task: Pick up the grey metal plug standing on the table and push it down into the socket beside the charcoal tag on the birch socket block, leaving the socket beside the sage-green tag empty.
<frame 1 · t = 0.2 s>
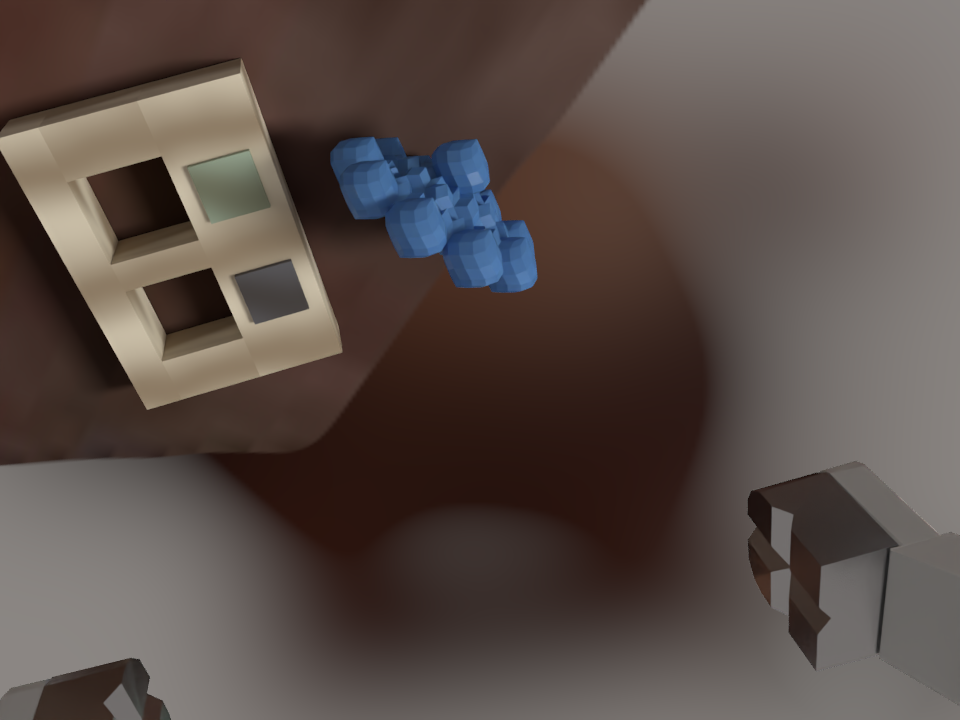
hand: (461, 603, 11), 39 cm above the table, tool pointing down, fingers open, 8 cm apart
socket block: (192, 235, 47), on the table
grapes: (426, 156, 48), on the table
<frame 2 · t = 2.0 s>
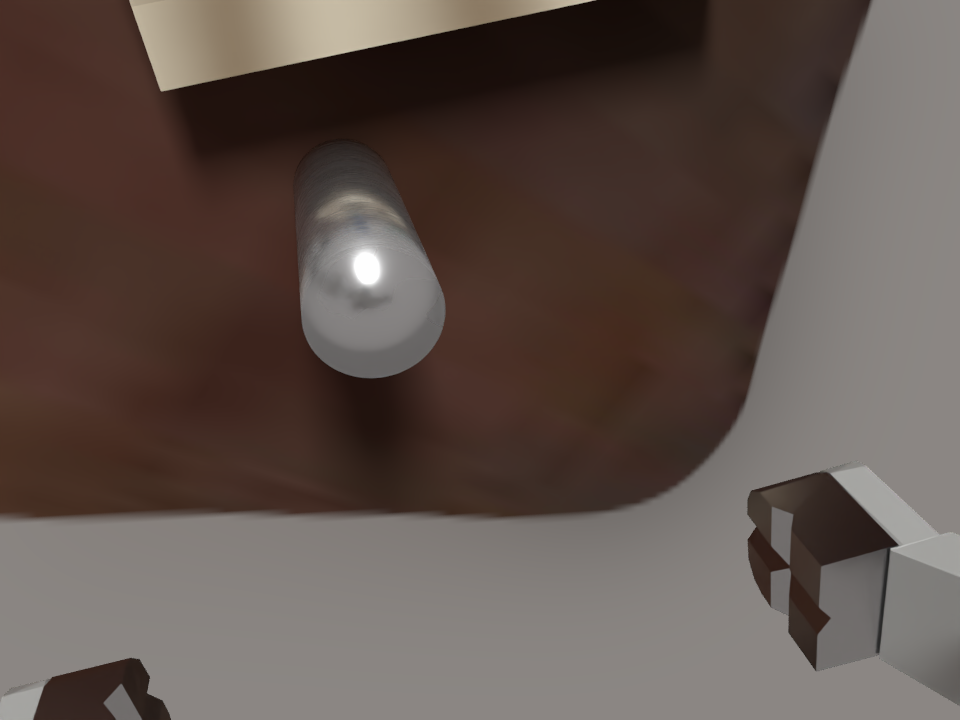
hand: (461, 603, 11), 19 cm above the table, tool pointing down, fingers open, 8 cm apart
plug: (343, 188, 27), on the table
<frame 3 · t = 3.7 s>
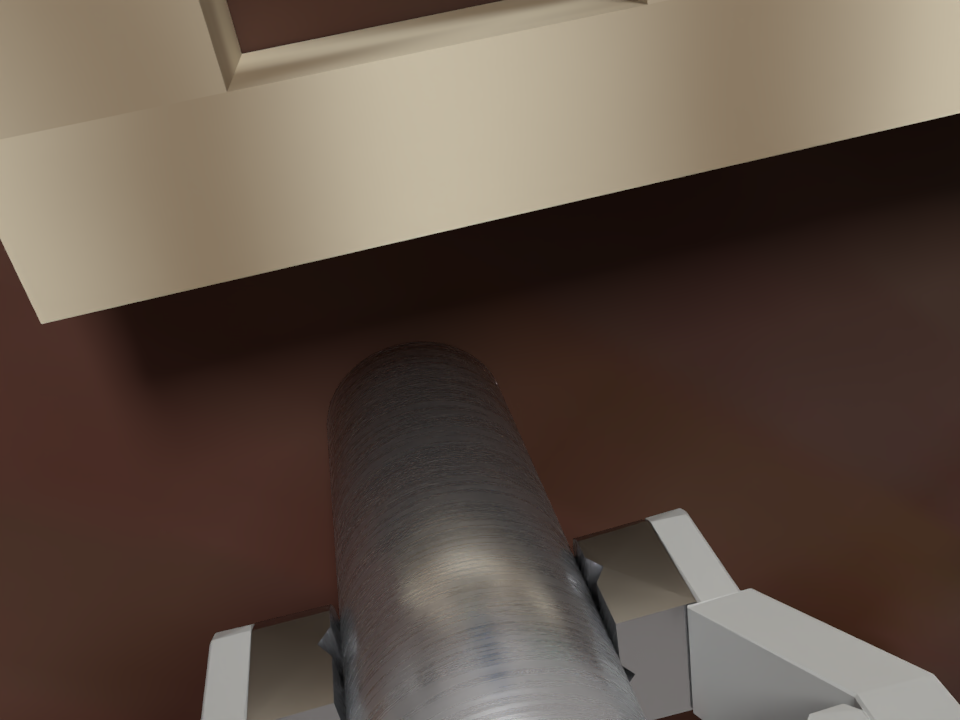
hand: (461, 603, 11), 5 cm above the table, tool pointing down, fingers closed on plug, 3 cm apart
plug: (417, 421, 15), on the table, touching gripper
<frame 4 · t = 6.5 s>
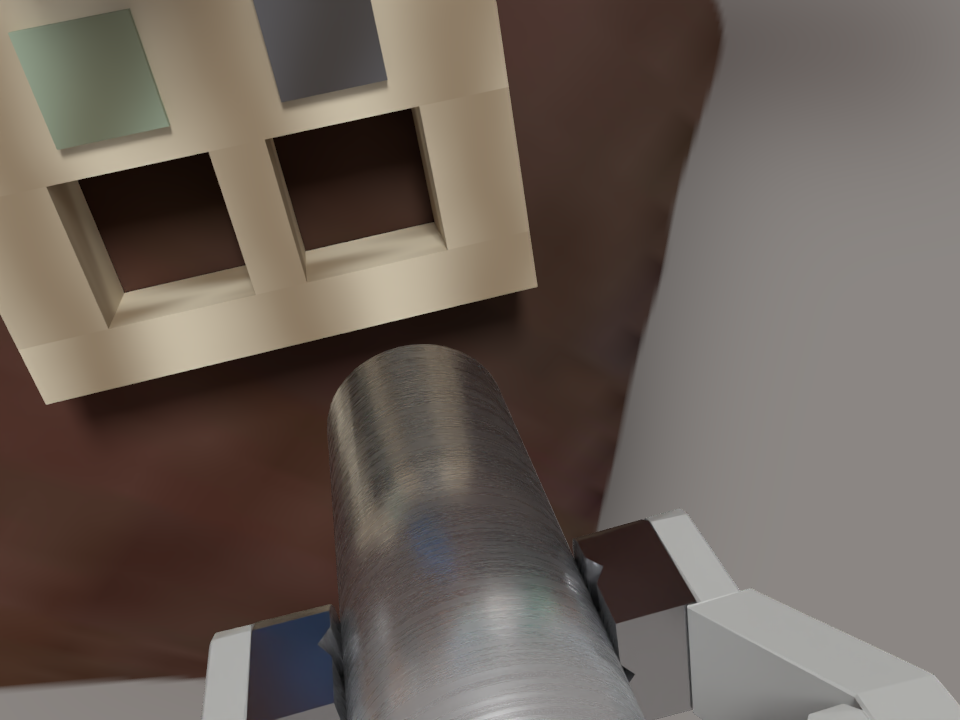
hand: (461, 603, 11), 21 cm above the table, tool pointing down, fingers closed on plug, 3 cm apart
plug: (417, 424, 15), point 16 cm above the table, touching gripper
socket block: (249, 150, 28), on the table
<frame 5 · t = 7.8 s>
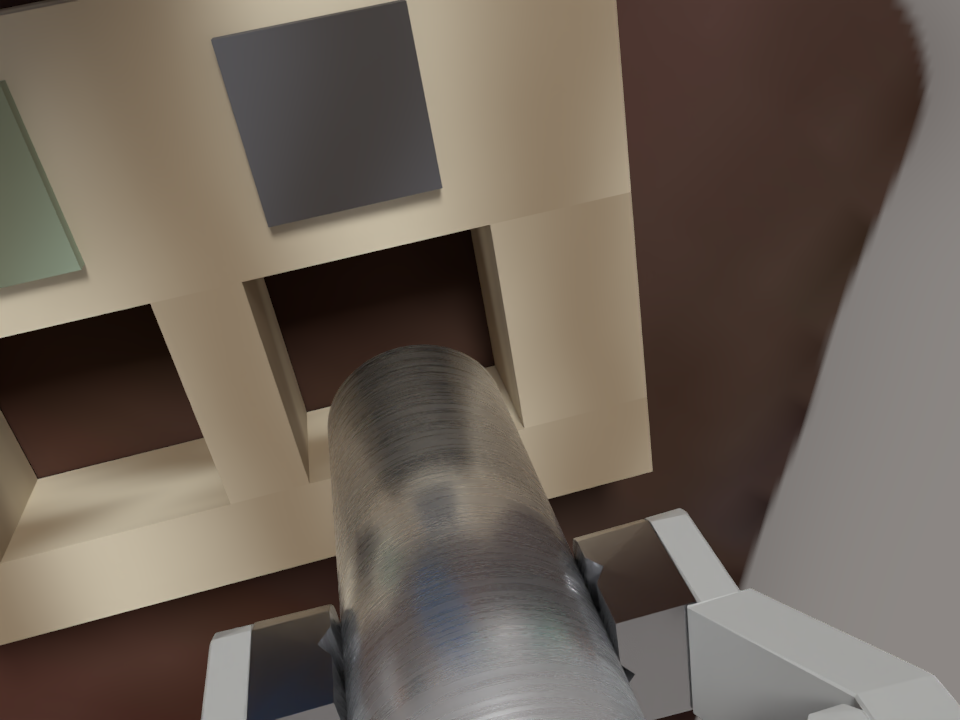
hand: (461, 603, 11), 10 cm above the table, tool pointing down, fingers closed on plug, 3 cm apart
plug: (417, 424, 15), point 5 cm above the table, touching gripper
socket block: (222, 276, 18), on the table
when the fingers open (6 cm above the table, at t = 9.0 s): plug drops 1 cm, resting in socket block.
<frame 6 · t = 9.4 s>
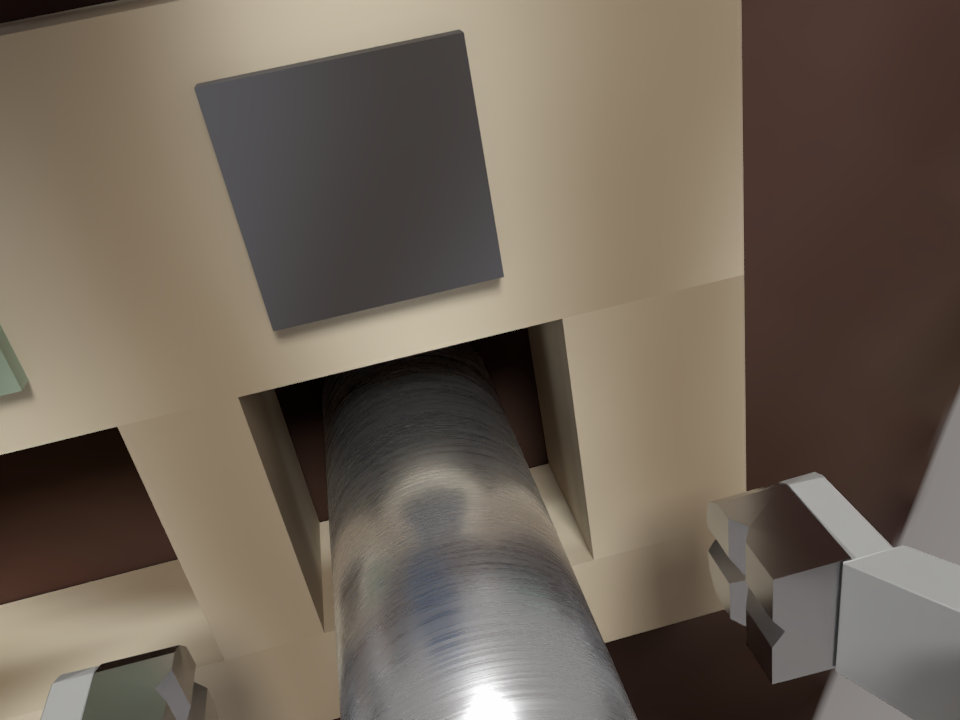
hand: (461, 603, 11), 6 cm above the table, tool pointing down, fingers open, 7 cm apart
plug: (407, 397, 16), resting in socket block
socket block: (215, 367, 15), on the table
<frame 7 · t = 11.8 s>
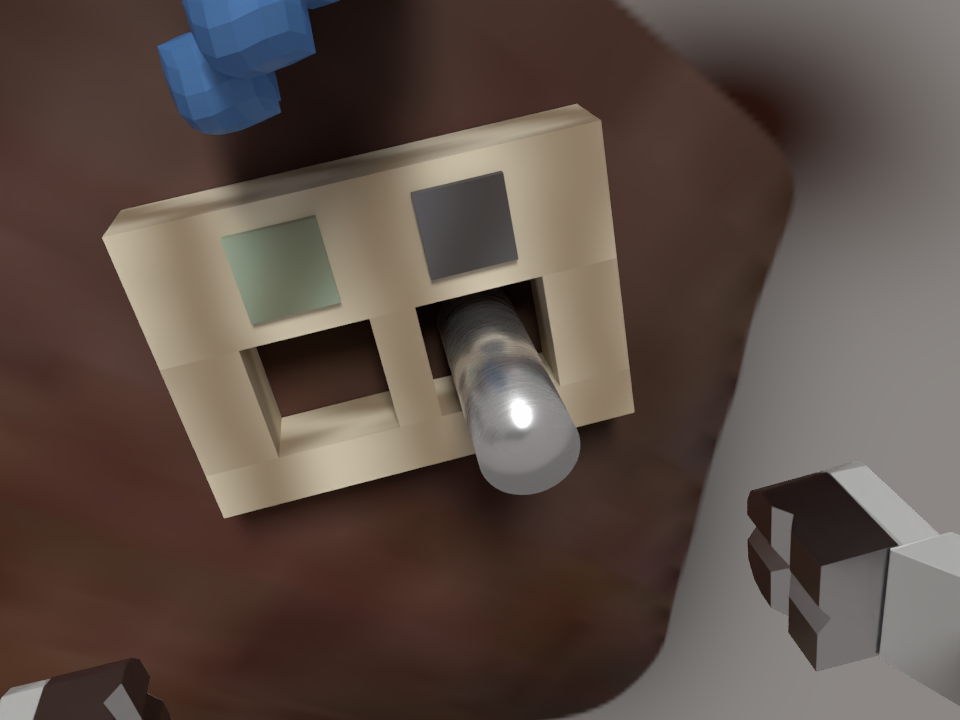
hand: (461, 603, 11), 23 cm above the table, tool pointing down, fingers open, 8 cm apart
plug: (475, 317, 34), resting in socket block
socket block: (391, 302, 33), on the table
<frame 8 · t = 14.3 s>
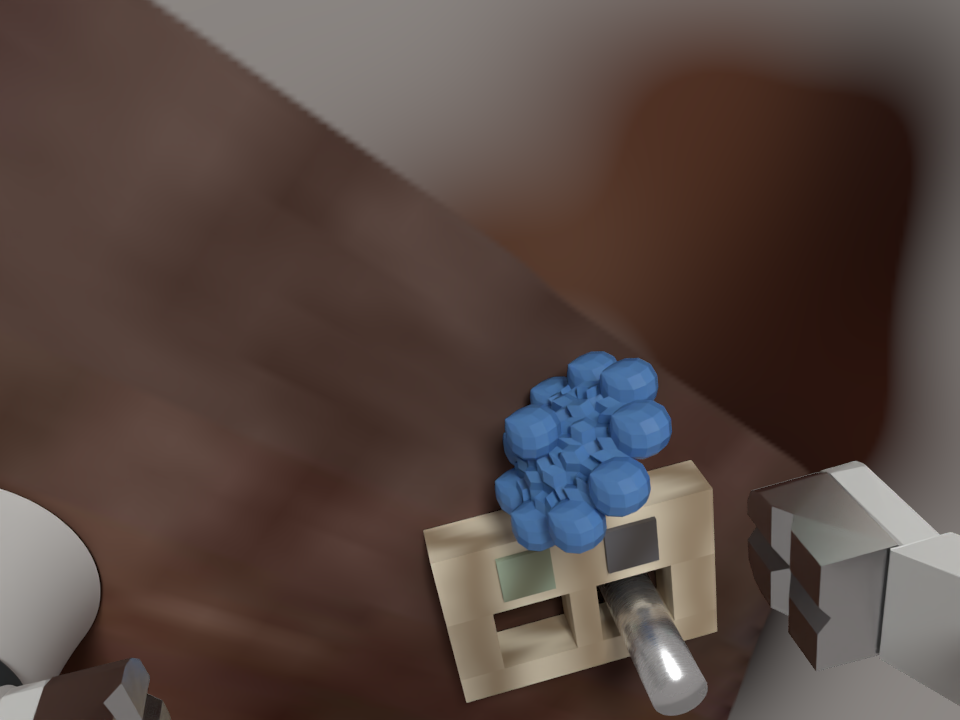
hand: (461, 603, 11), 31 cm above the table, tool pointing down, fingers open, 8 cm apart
plug: (618, 572, 55), resting in socket block
socket block: (570, 567, 54), on the table
grapes: (530, 383, 47), on the table
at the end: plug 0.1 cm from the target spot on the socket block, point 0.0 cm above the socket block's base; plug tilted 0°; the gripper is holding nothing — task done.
